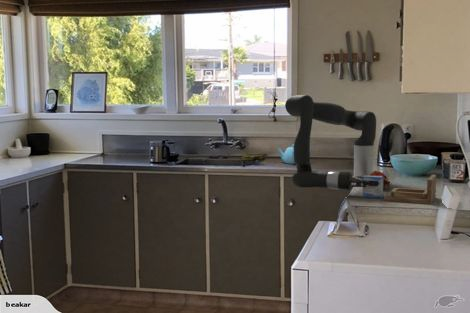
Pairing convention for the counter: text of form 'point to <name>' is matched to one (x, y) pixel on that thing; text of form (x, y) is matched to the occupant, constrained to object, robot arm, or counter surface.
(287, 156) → the teapot
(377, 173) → the dragon fruit
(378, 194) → the medicine box
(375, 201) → the counter surface
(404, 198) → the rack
